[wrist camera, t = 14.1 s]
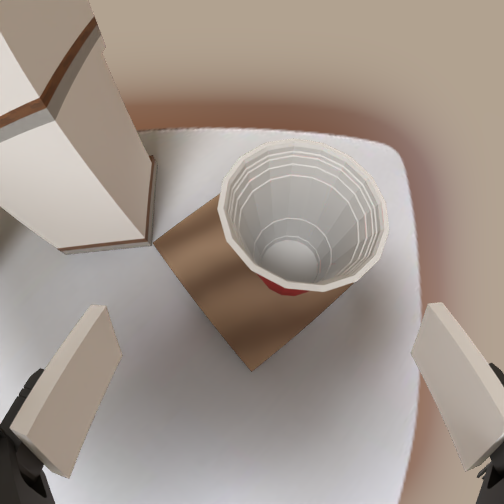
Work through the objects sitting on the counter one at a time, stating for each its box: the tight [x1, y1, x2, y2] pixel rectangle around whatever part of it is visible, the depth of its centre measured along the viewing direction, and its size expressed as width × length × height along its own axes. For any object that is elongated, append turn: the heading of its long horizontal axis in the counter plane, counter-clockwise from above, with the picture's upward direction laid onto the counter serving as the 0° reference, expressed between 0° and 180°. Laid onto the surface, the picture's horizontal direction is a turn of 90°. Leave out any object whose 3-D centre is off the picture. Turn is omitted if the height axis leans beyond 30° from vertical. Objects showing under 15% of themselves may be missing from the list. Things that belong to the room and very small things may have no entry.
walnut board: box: [153, 194, 354, 372], centre depth 30 cm, size 16×16×1 cm
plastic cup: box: [217, 138, 389, 296], centre depth 23 cm, size 11×11×12 cm
